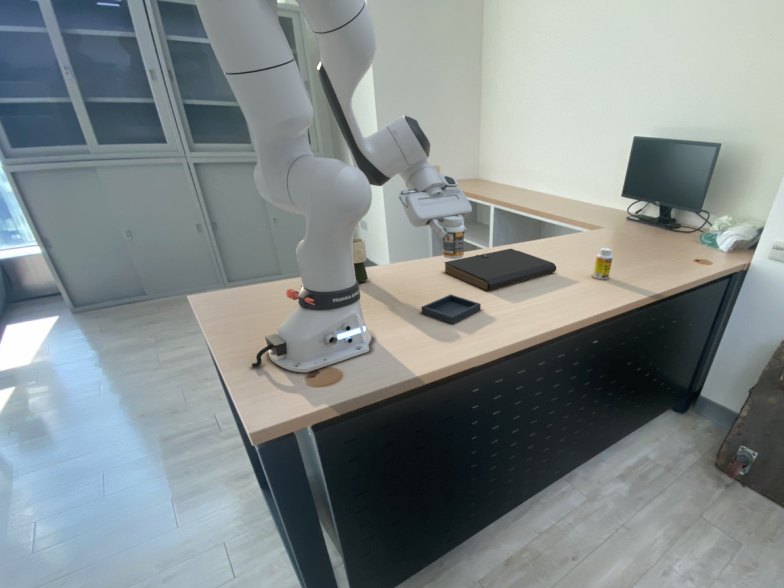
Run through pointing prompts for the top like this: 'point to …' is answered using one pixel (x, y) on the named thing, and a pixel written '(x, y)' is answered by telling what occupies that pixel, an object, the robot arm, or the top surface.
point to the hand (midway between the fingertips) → (454, 234)
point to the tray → (451, 309)
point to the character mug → (359, 259)
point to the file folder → (498, 268)
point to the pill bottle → (453, 238)
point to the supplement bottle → (603, 264)
